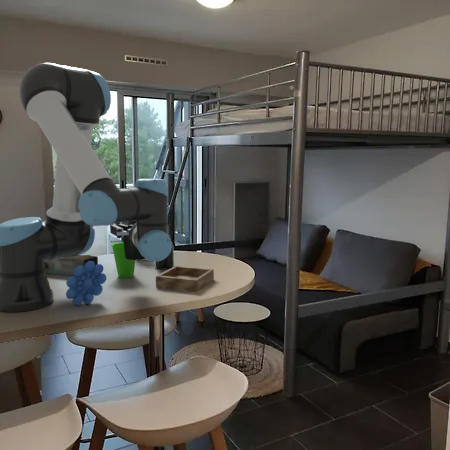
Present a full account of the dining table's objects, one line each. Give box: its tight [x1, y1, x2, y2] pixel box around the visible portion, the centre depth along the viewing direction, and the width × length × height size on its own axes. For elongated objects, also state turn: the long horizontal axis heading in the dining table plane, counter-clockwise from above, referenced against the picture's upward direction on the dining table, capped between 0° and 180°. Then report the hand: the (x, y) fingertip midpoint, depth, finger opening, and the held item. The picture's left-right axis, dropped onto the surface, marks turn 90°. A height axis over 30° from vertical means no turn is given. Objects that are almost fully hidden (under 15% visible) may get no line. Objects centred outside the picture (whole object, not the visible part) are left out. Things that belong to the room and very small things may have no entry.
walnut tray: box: [155, 265, 215, 293], centre depth 139 cm, size 14×14×4 cm
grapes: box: [65, 261, 107, 306], centre depth 119 cm, size 12×7×12 cm, turn 132°
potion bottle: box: [122, 221, 145, 261], centre depth 131 cm, size 8×8×18 cm
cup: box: [110, 241, 137, 279], centre depth 147 cm, size 9×9×11 cm
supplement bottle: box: [154, 234, 175, 270], centre depth 158 cm, size 7×7×12 cm
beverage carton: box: [45, 254, 99, 277], centre depth 151 cm, size 8×19×7 cm, turn 71°
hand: (132, 223), depth 135 cm, fingers closed on potion bottle, 8 cm apart
